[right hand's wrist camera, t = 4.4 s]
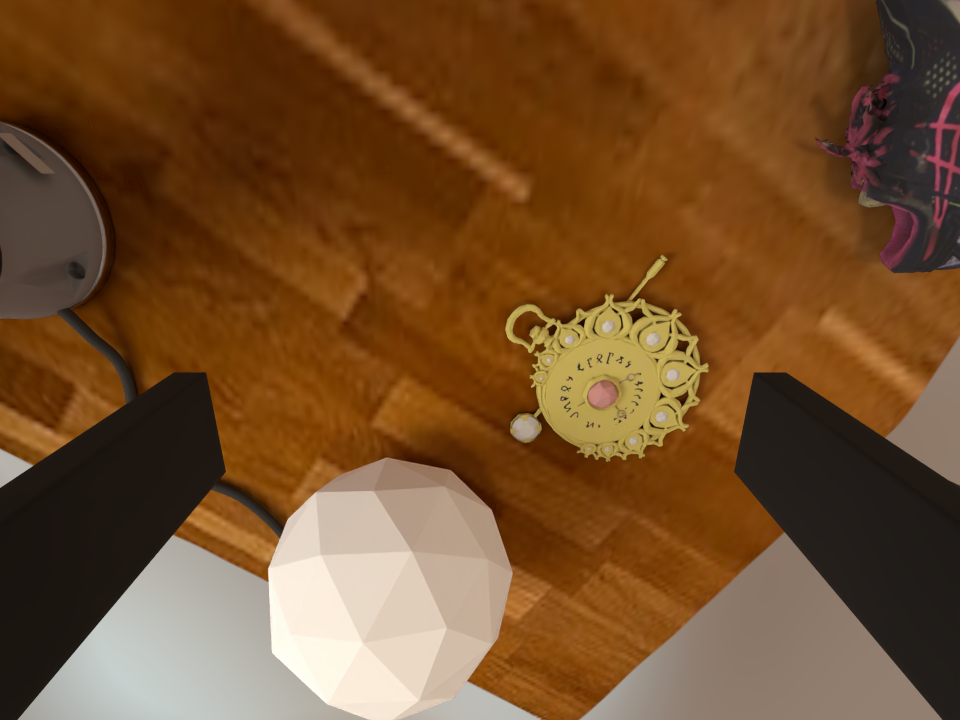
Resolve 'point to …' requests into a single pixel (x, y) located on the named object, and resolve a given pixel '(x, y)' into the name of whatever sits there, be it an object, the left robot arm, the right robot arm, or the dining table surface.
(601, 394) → the decorative object
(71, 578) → the right robot arm
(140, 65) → the dining table surface
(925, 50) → the athletic shoe
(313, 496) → the sphere
